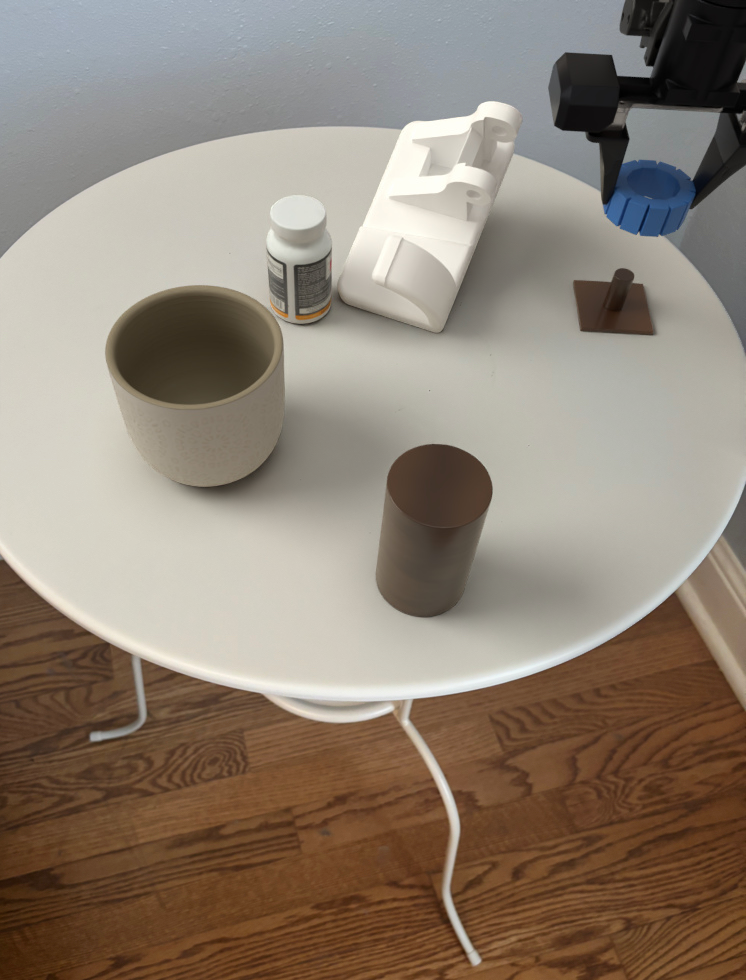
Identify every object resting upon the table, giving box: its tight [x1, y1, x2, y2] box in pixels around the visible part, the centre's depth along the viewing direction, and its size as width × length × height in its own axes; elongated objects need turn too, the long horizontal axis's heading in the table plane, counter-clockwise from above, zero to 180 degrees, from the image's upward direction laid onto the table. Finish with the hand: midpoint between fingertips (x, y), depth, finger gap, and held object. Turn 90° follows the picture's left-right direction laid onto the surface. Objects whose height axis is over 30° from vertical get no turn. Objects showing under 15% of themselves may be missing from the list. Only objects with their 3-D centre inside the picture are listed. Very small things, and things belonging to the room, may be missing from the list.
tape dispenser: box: [336, 100, 524, 334], centre depth 76 cm, size 20×11×13 cm, turn 156°
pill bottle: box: [265, 194, 333, 325], centre depth 73 cm, size 6×6×10 cm
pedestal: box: [375, 443, 494, 618], centre depth 57 cm, size 7×7×11 cm
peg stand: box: [572, 267, 655, 336], centre depth 76 cm, size 7×7×4 cm
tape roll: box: [602, 159, 696, 238], centre depth 66 cm, size 6×6×2 cm
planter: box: [104, 284, 286, 488], centre depth 63 cm, size 12×12×11 cm
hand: (646, 203), depth 66 cm, fingers closed on tape roll, 6 cm apart
